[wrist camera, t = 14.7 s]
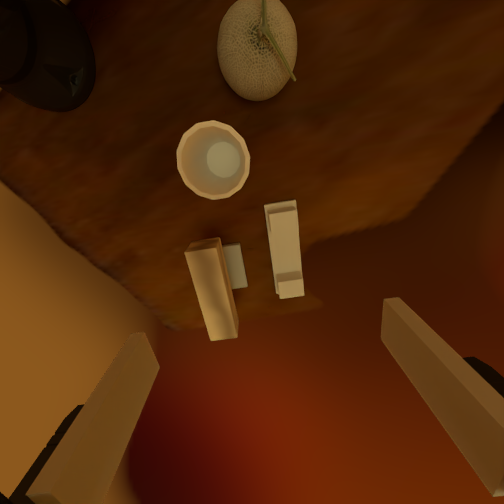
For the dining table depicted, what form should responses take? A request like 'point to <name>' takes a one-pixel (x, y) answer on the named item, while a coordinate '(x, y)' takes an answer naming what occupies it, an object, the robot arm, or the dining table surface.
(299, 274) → the beige bracket
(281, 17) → the fruit
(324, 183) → the dining table surface
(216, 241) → the bar
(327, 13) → the dining table surface
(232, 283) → the fulcrum
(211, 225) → the dining table surface
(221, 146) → the foam cup
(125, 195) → the dining table surface
